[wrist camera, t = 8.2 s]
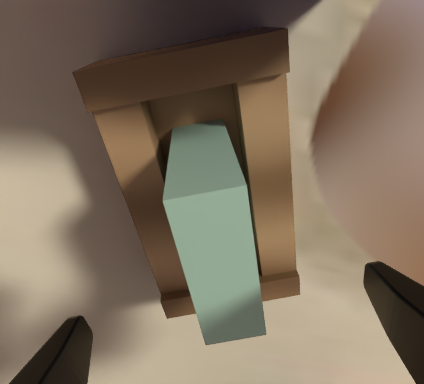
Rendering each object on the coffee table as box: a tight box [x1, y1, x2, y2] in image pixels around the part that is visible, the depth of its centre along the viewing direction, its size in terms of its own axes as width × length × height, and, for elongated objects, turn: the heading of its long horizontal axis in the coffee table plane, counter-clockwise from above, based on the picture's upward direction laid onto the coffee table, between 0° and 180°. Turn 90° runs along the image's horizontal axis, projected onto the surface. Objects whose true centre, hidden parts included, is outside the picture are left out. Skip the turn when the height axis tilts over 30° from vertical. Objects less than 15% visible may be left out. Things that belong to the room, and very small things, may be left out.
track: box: [72, 27, 300, 319], centre depth 16 cm, size 14×8×4 cm, turn 10°
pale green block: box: [163, 118, 266, 345], centre depth 14 cm, size 7×3×7 cm, turn 10°
